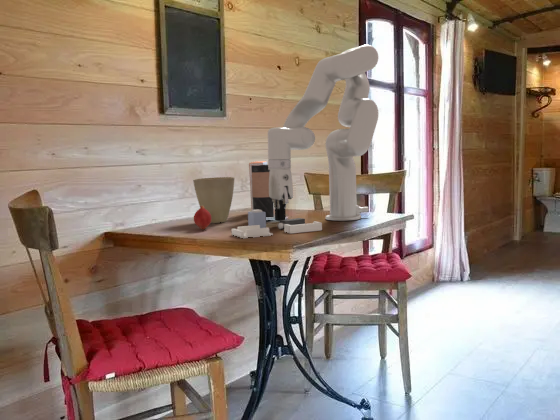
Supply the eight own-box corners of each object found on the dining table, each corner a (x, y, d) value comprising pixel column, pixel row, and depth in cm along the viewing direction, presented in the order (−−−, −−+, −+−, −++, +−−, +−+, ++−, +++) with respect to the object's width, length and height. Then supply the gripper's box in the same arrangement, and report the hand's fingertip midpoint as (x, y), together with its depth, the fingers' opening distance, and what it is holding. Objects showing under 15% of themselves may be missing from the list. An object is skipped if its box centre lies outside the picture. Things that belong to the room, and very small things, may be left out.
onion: (192, 229, 193) (191, 205, 192) (209, 227, 195) (207, 204, 194) (197, 231, 187) (195, 206, 186) (214, 229, 189) (212, 205, 189)
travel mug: (271, 221, 206) (269, 165, 204) (251, 221, 208) (248, 165, 206) (276, 218, 214) (274, 164, 212) (256, 218, 215) (254, 165, 213)
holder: (262, 232, 180) (261, 224, 180) (272, 235, 173) (272, 227, 173) (231, 235, 176) (231, 227, 176) (241, 238, 169) (241, 230, 169)
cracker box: (255, 212, 239) (253, 161, 237) (270, 211, 238) (268, 160, 236) (250, 216, 225) (248, 162, 223) (265, 215, 224) (263, 161, 222)
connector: (260, 229, 188) (259, 208, 187) (266, 230, 184) (265, 210, 183) (248, 230, 186) (247, 209, 186) (254, 232, 182) (253, 211, 181)
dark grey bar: (299, 227, 191) (299, 218, 191) (305, 227, 189) (304, 218, 188) (276, 230, 186) (276, 220, 185) (282, 231, 183) (281, 221, 183)
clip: (315, 228, 184) (315, 221, 184) (322, 230, 180) (321, 222, 180) (284, 231, 179) (284, 224, 179) (290, 233, 176) (289, 225, 175)
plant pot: (232, 218, 220) (230, 176, 218) (240, 222, 205) (238, 177, 204) (192, 221, 216) (190, 178, 214) (198, 225, 201) (195, 180, 200)
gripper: (299, 165, 187) (300, 221, 188) (280, 164, 200) (281, 217, 202) (278, 165, 183) (279, 223, 185) (260, 165, 197) (261, 218, 199)
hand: (280, 220), depth 193 cm, fingers closed
